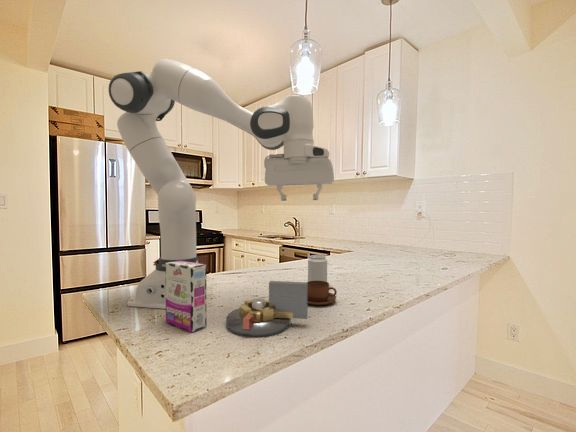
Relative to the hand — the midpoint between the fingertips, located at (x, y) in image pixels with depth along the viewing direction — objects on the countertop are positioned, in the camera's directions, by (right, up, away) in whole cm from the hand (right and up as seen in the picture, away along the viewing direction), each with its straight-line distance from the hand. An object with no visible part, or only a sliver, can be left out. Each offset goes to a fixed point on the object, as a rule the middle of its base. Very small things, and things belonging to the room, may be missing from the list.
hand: (299, 200), depth 87 cm
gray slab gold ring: (-7, -31, -8) cm, 33 cm away
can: (+8, -32, +29) cm, 44 cm away
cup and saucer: (+6, -33, +11) cm, 35 cm away
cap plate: (-11, -33, -8) cm, 36 cm away
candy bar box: (-30, -34, -9) cm, 46 cm away
